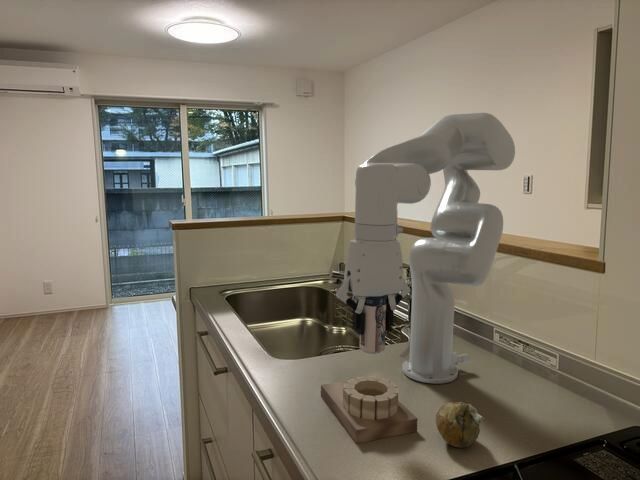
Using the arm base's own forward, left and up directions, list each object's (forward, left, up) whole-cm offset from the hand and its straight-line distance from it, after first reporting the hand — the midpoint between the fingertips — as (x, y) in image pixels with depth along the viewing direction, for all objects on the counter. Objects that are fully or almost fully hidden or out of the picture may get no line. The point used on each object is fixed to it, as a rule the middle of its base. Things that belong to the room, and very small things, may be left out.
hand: (372, 329), depth 87 cm
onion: (-11, +12, -18) cm, 24 cm away
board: (0, -2, -17) cm, 18 cm away
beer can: (0, 0, -4) cm, 4 cm away
